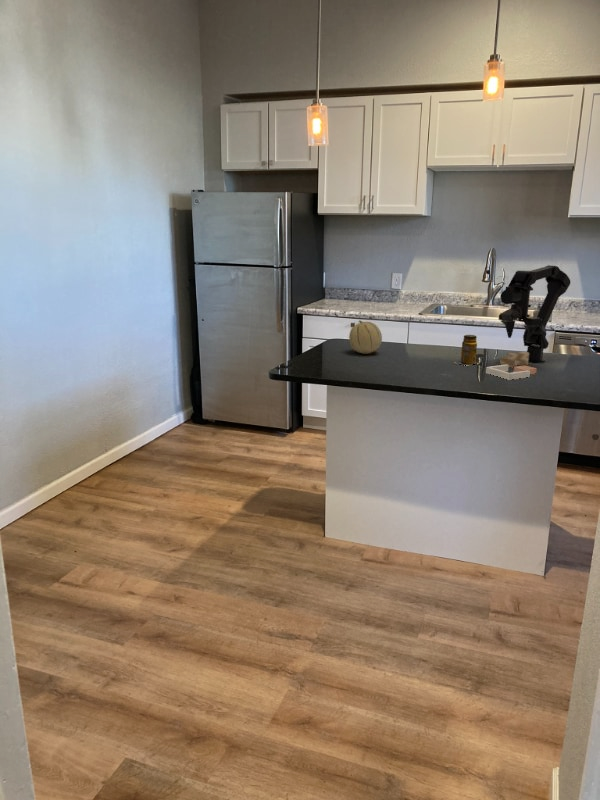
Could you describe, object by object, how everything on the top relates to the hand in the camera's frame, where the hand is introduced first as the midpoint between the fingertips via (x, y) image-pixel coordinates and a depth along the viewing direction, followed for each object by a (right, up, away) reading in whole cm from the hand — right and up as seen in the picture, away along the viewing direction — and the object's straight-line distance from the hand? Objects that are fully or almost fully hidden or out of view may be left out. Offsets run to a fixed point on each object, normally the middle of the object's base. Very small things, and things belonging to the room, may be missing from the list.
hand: (517, 339), depth 254 cm
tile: (-1, -15, -10) cm, 18 cm away
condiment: (-20, -10, +5) cm, 23 cm away
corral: (-9, -15, -14) cm, 23 cm away
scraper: (+1, -10, +3) cm, 11 cm away
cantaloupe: (-61, -4, +24) cm, 66 cm away
